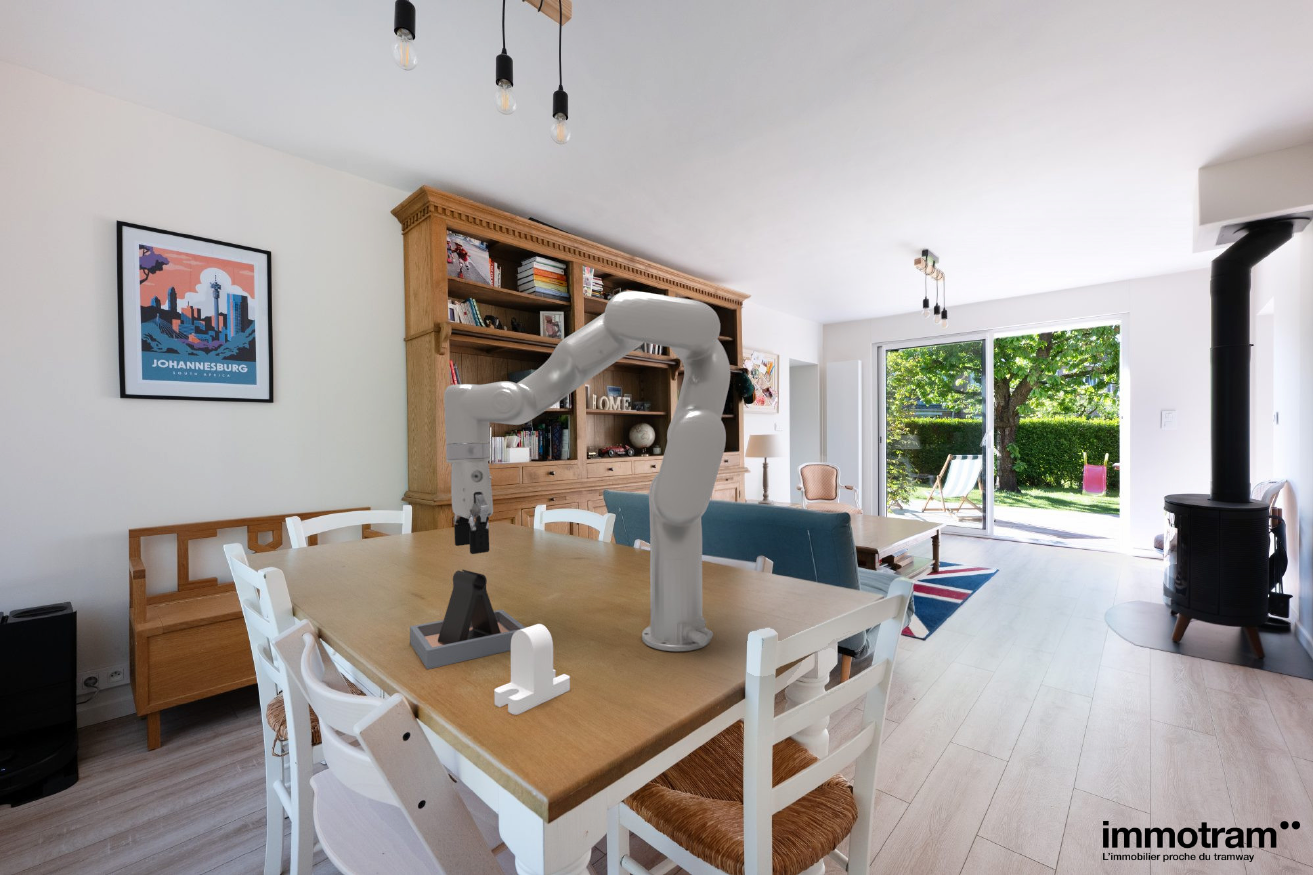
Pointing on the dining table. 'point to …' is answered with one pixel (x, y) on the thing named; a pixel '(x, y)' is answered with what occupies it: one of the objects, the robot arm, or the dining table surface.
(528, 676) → the cable organizer
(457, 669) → the dining table surface
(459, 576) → the phone stand
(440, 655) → the grey tray
